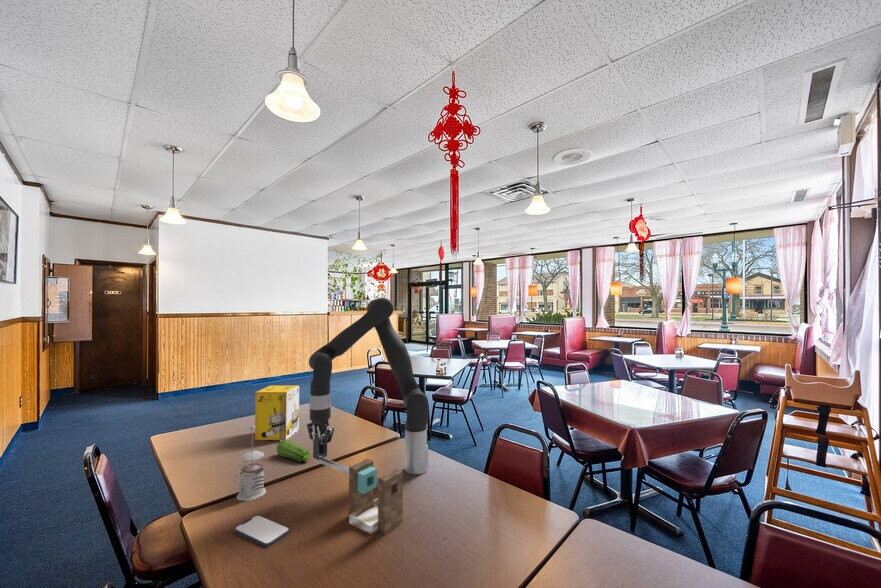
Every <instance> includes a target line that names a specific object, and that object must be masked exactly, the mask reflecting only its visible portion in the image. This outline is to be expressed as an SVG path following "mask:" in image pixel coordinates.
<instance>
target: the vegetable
mask: <svg viewBox="0 0 881 588" xmlns="http://www.w3.org/2000/svg"><path fill="white" fill-rule="evenodd" d="M276 452H277V455H279V456H280V457H283V458H286V457H287V459H291V460H295V461H297V462H300V463H302V462H301V461H304V462H307V461H309V460H310V451H309V450H308V449H307V448H305V447H304V446H301V445H300V444H297V443H296V442H294V441H292V440H290V439H288V440H282V441H278V444H277V446H276Z"/></svg>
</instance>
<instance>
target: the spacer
mask: <svg viewBox="0 0 881 588" xmlns="http://www.w3.org/2000/svg"><path fill="white" fill-rule="evenodd" d="M367 478H368V481H367ZM376 488H378V468H377V467H374V466H373V467H372V466H370V467H368V468H366V469H364V470H362V471H360V472H358V473H357V492H360V493H362V494H365V493H367V492H369V491H370V490H372V489H373V490H374V489H376Z"/></svg>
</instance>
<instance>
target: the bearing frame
mask: <svg viewBox="0 0 881 588" xmlns="http://www.w3.org/2000/svg"><path fill="white" fill-rule="evenodd" d="M370 466H372V467H374V460H372V459H369V458H366V459H364V460H362V461H359V462H357V463H354V464H352V465H351V466H350V465H349V474H348V523H349V524H350V525H352V526H354V527H355V528H357V529H360V530H362V531H363V532H365V533H367V534H369V535H371V536H372V535H374V534H375V533H377V532H379V533H381V534H383V535H386V534H389V533H390V532H391V531H392V530H393V529H394V528H396V527H398V526H399V525H400V524H402V523H403V519H404V516H403V515H404V512H403V511H404V510H403V509H404V508H403V506H404V504H403V501H404V500H403V499H404V498H403V494H404V493H403V491H404V490H403V489H404V486H403V485H404V483H403V482H404V481H403V480H404V478H403V476H404V473H403V472H404V471H403V470H401V469H398V468H394V469H392V470H391V471H389V472H387V473H385V474H383V475H381V476H378V477H377V498H375V499H374V489H372V490H370V491H369V492H367V493H365V494H362V493H360V492H357V473H358V472H360V471H362V470H364V469H366V468H368V467H370ZM367 481H368V478H367Z"/></svg>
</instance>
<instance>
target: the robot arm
mask: <svg viewBox="0 0 881 588" xmlns="http://www.w3.org/2000/svg"><path fill="white" fill-rule="evenodd" d="M394 308H395V307H394V304H393V302H392V300H390V299H389V298H387V297H378V298H375V299H372V300H371V301H369V302H368V304H367V307H366V313H364V314H363V315H362V316H361V317H360V318H359V319H357V320H356V321H355V322H353V323H352V324H350V325H349V326H347V327H346V328H344V329H343V330H342V331H340V332H339V333H338V334H337V335H336V336H335V337H334V338H332V339H331V340H330V341H329V342H328V343H326V344H325V345H323V346H322V347H320V348H318V349H317V350H315V351H314V352H313V353H312V354H311V355H310V357H309V359H308V364H309V367H310V368H311V370H312V379H311V381H310V387H309V388H310V394H309V395H310V397H309V420H310V421H311V422H309V423H307V424H306V427H307V432H308V437H309V439H310V440H312V441H313V439H314V438H317V437H319V438H320V444H321V445H320V454H321V455H323V454H326V452H327V453H328V444H329V443H331V441H332V439H333V435H334V432H335V427H330V422H329V420H330V419H331V418H332V416H331V415H332V414H331V413H332V409H331V408H332V405H331V404H332V399H331V378H332V372H333V360H334V359H335V358H338V357H341V356H342V355H344V354H345V353H346V352H347V351H349V350H350V349H351V348H352V347H353V346H354V345H355V344H357V342H358V341H360V340H361V339H362V338H363V337H364V336H365V335H366V334H367V333H368V332H370V331H371V330H373V328H374V329H375V332H376V333H377V336H378V338H379V342H380V344H381V346H382V349H383V352H384V355H385V357H386V360H387V363H388V365H389V367H390V369H391V371H392V374H393V376H394V378H395V380H396V381H397V383H398V385H399V389H400V390H399V391H400V392H401V396H402V400H403V403H404V406H405V408H406V421H405V423H404V434H405V435H404V471H405V473H406V474H409V475H416V476H417V475H421V474H424V473H426V472H427V469H428V468H429V445H428V431H427V430H428V428H427V427H428V422H429V399H428V396H427V395H426V394H425V393H424V392H423V391H422V390H421V388H420V387H419V384H418V383H417V380H416V379H415V376H414V371H413V366H412V365H413V364H412V360H411V356H410V354H409V351H408V349H407V346H406V344H405V342H404V340H402V338H401V337H400V336H399V334H398V333H397V331H396V330H395V329H394V326H393V324H392V322H391V318H390V317H391V316H392V315H393V313H394V310H395V309H394ZM323 438H324V441H323Z"/></svg>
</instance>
